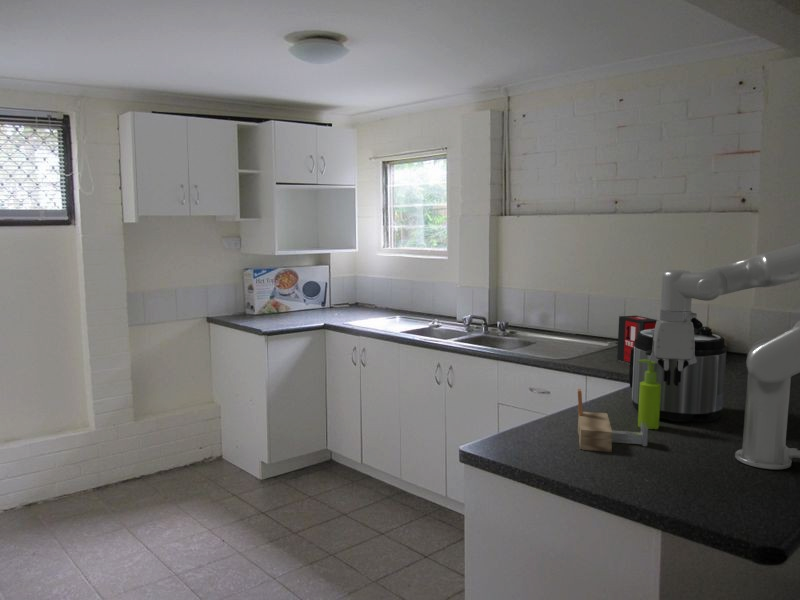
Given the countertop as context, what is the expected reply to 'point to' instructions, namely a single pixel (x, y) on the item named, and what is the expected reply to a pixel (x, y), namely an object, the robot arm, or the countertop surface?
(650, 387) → the soap dispenser
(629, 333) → the cleaning product box
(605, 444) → the block
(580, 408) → the bar
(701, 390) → the pressure cooker
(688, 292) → the robot arm
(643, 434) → the lynch pin
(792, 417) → the countertop surface
